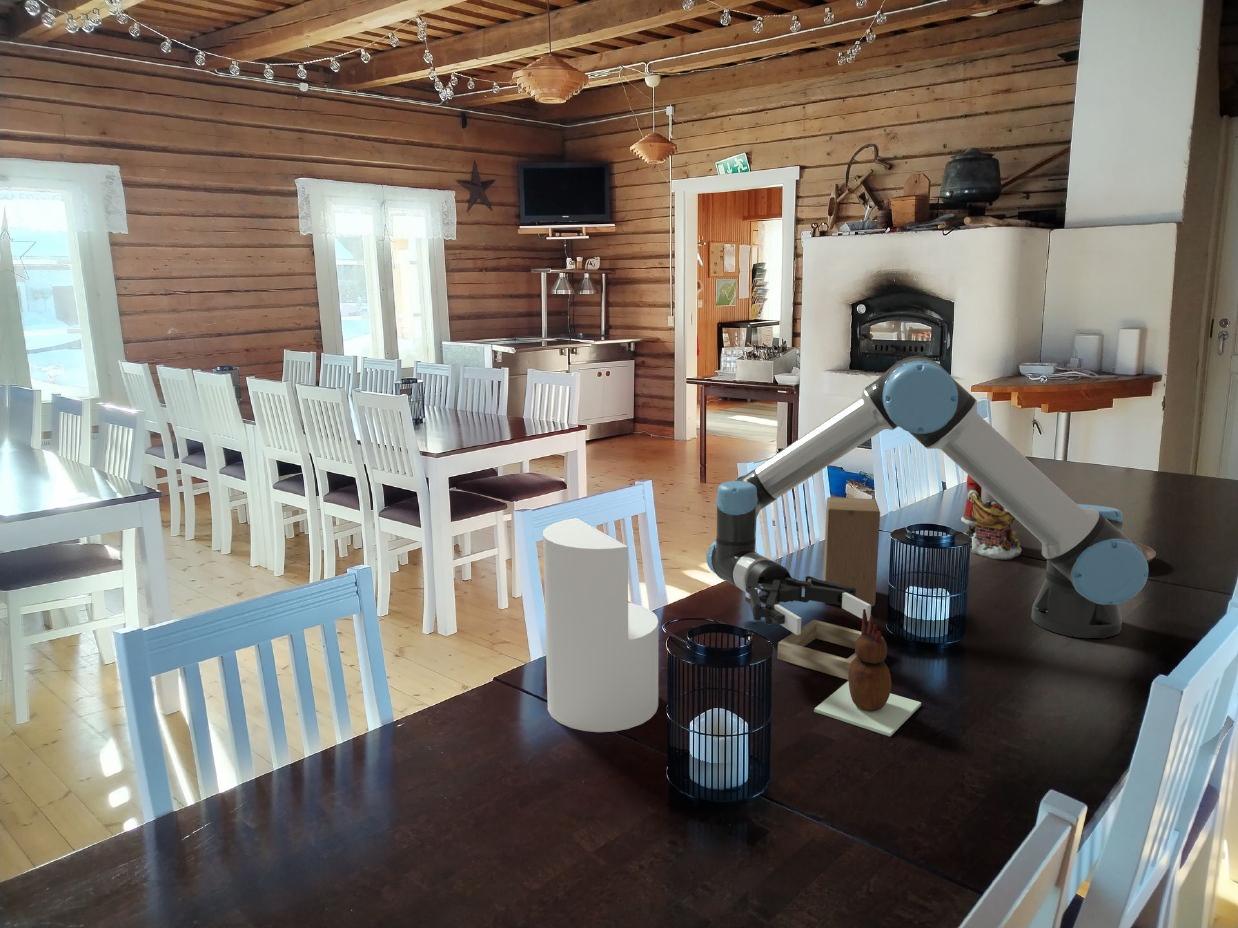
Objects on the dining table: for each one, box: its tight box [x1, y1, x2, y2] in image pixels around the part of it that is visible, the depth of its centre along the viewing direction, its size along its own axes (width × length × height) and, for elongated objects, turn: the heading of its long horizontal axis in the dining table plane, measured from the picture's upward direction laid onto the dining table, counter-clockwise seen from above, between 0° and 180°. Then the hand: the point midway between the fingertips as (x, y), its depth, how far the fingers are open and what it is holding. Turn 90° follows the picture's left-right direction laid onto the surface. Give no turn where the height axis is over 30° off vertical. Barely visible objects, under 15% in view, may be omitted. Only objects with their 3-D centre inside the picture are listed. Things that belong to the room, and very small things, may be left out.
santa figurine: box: [960, 474, 1023, 560], centre depth 210 cm, size 17×14×25 cm
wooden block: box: [822, 496, 881, 607], centre depth 179 cm, size 10×10×20 cm
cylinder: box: [542, 517, 659, 733], centre depth 134 cm, size 17×17×28 cm
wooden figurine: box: [847, 609, 892, 711], centre depth 133 cm, size 7×6×15 cm
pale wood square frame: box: [776, 619, 884, 681], centre depth 153 cm, size 13×13×3 cm
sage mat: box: [813, 680, 922, 737], centre depth 135 cm, size 12×12×1 cm
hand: (834, 619), depth 140 cm, fingers open, 13 cm apart
